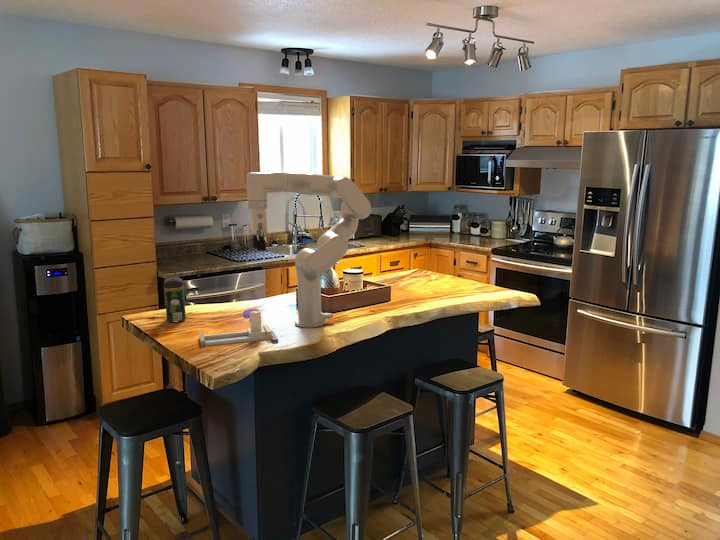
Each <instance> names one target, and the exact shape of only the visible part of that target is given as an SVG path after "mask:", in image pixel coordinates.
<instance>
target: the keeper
mask: <svg viewBox="0 0 720 540" xmlns="http://www.w3.org/2000/svg"><path fill="white" fill-rule="evenodd" d="M249 323H250V328H246V331H247V335H248V337H255V336H265V335H266V334H265V330H264V328H263V326H262V312H261V311H260V310H259V311H252V312H250V318H249Z"/></svg>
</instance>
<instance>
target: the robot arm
mask: <svg viewBox="0 0 720 540" xmlns="http://www.w3.org/2000/svg"><path fill="white" fill-rule="evenodd" d="M268 191H271V192H287V193H289V192H290V193H296V194H300V195H304V196H305V195H306V196H316V197H317V196H318V197H325V198H326V197H328V198H329V197H330V198H340V199H341V200H342V202H341V207H340V209H341V210H340V211H341V212H340V217H339V219H338V221H337V222H336V223H334V225H333V226H332V227H330V228H329V229H328V230H326V231H325V232H324V233H323V234H322V235H320V236H319V237H318V239H317V241H316V248H317V249H313V248H311V247H310V248H308V247H305V248H302V249H300V250H298V252H297V253H296V254H295V258H294V266H295V272H296V280H297V281H296V283H297V311H298V313H297V314H298V317H297V318H298V319H296V320H294V325H295V326H297V327H299V328H305V329H307V328H308V329H311V328H319V327H323V326H324V325H325V324H326V319H333V318H334V315H333V313H328V312H325V313H324V312H322V292H321V291H322V289H321V288H322V287H321V286H322V285H321V275H323V274H325V273H326V272H328V271H329V270H330V269H331V268H332V267H334V266H335V265H336V264H337V263H339V261H340V260H342V259H343V258H344V257H345V255H346V254H347V252H348V249H349V243H348V240H350V239H351V238H352V237H353V236H354V235H355V233H356V232H357V229H358V226H359V222H360V221H359V220H364V219H366V218H368V217H369V216H370V215H371V212H372V205H371V203H370V201H369V200H368V198H367V197H366V195H364V193H363V192H362V190H360V189H359V187H358V186H357V184H355V183H354V182H353V180H351V178H349V177H347V176H336V175H327V174H326V175H325V174H319V173H318V174H317V173H307V172H306V173H305V172H304V173H303V172H301V173H296V172H295V173H294V172H293V173H291V172H281V171H275V170H270V171H269V170H268V171H266V172H262V171H261V172H260V171H257V172H255V171H254V172H253V171H251V172H248V173H246V195H247V196H246V198H247V209H248V210H250V222H251V231H252V233H253V234H252V235H253V238H252V241H253V247H254V248H256V249H257V251H258V252H262V251H263V252H265V251H266V249H267V248H266V236H265V235H268V221H267V212H266V211H267V209H268ZM318 326H319V327H318Z"/></svg>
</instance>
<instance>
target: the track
mask: <svg viewBox="0 0 720 540" xmlns="http://www.w3.org/2000/svg"><path fill="white" fill-rule="evenodd" d="M262 327H263V328H264V330H265V334H266V335H265V336H255V337H248V335H247V330H246V331H236V332H235V331H234V332H227V333H226V332H224V333H217V334H215V333H214V334H204V332H201V333H198V334H199V338H198V339H199V343H200V344H199V345H200V348H208V347H209V348H211V347H218V346H219V347H220V346H226V345H227V346H228V345H238V344H246V343H255V342H257V343H258V342H265V341H270V343H271V344H275V342H276V343H279V339H278V337H277V335H276V334H275V332H274V330H271V329H270V327H269V325H268V324H262Z"/></svg>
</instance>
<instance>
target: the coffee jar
mask: <svg viewBox="0 0 720 540" xmlns="http://www.w3.org/2000/svg"><path fill="white" fill-rule="evenodd" d="M163 290H164V291H163V292H164V304H165V311H166V313H165V316H166V320H167V322H168V321H179V322H183V321H182V320H184V321H185V320H186V319H187V318H186V317H187V316H186V305H185V304H186V303H185V292H184V280H183V279H182V278H181V277H179V276H169V277H168V278H166V279H165V280H164V281H163Z"/></svg>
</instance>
